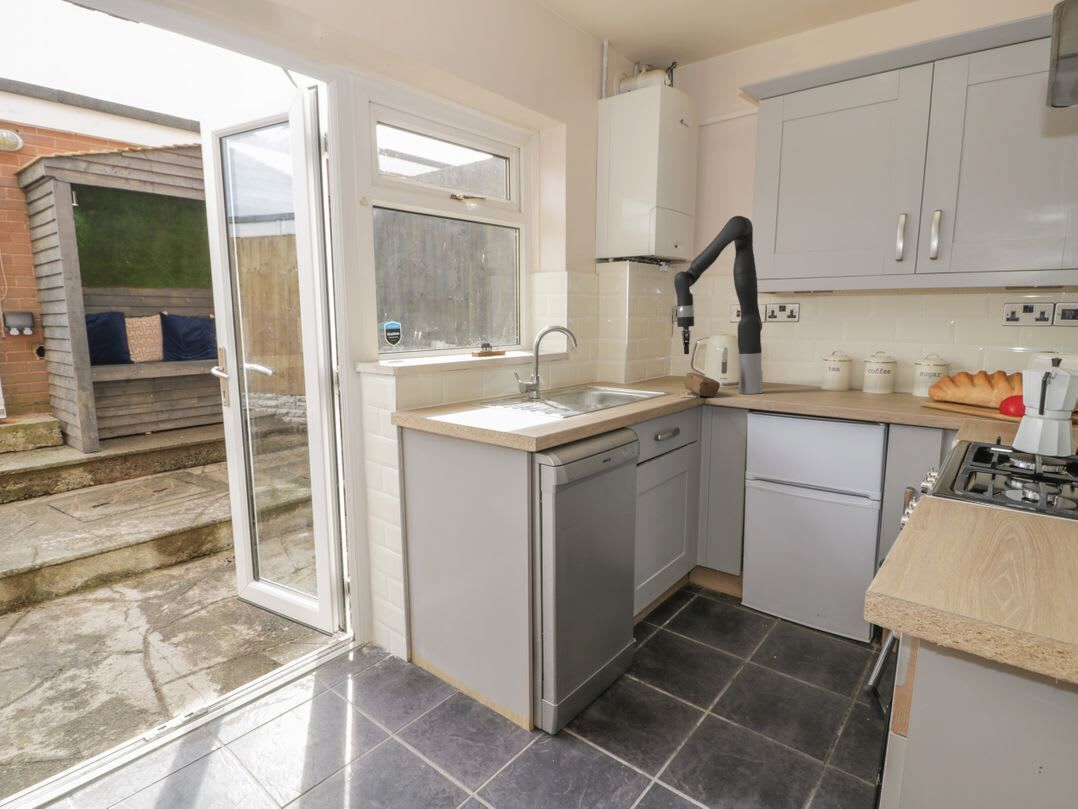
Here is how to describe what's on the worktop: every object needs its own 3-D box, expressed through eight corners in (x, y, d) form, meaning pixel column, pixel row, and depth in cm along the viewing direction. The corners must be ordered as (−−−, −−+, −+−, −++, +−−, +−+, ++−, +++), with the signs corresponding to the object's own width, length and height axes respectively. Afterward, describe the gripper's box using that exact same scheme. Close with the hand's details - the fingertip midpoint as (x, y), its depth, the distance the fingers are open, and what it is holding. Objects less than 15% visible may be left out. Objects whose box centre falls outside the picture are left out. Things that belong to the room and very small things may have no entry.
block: (680, 386, 263) (696, 395, 243) (685, 370, 261) (701, 378, 242) (703, 391, 264) (720, 400, 245) (708, 375, 263) (725, 383, 243)
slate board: (697, 394, 258) (697, 391, 258) (699, 397, 247) (699, 394, 246) (679, 394, 260) (679, 392, 260) (680, 397, 248) (680, 395, 248)
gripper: (694, 315, 259) (695, 354, 261) (693, 315, 272) (694, 353, 274) (677, 316, 261) (678, 355, 263) (676, 316, 274) (677, 353, 276)
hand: (686, 354), depth 269 cm, fingers closed
